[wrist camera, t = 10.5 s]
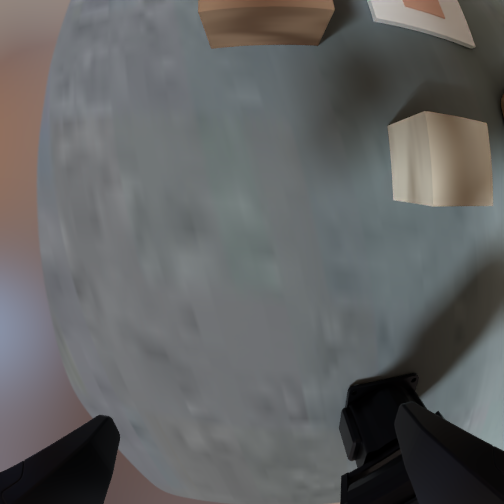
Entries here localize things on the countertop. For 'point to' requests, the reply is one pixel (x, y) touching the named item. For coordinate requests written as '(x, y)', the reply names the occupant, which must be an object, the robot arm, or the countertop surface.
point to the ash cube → (441, 160)
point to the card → (425, 18)
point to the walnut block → (264, 21)
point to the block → (502, 104)
